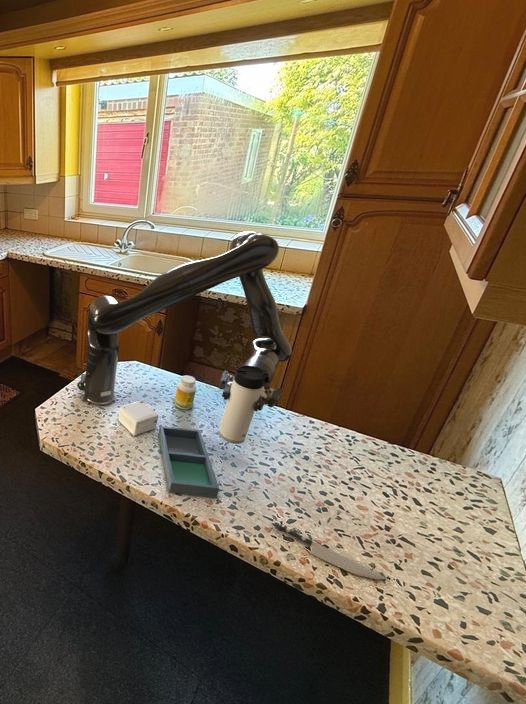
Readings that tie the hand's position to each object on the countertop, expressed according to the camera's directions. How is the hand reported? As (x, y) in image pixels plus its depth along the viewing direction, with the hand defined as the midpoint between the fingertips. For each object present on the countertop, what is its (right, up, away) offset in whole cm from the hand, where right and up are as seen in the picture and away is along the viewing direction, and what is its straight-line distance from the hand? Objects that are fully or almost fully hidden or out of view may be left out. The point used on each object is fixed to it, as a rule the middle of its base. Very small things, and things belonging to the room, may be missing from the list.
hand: (240, 402), depth 95 cm
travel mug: (+1, -10, +7) cm, 12 cm away
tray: (-11, -17, +7) cm, 21 cm away
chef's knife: (+9, -28, -16) cm, 33 cm away
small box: (-20, -10, +20) cm, 30 cm away
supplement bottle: (-3, -6, +29) cm, 30 cm away
